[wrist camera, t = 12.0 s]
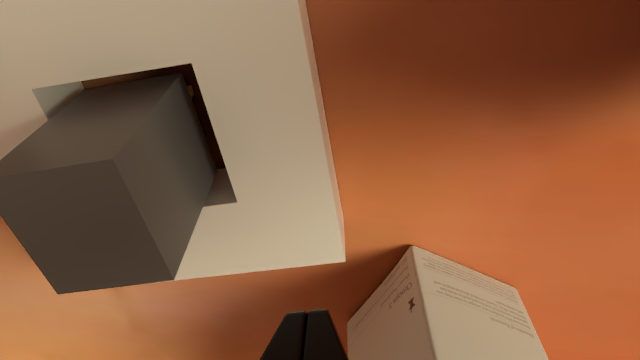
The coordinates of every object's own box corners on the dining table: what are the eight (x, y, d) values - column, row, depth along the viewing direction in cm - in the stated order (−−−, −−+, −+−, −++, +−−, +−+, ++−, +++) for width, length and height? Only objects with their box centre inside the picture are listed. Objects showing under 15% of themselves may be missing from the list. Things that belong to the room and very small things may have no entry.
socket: (288, -98, 15) (277, -93, 12) (343, 220, 23) (346, 274, 20) (-78, -26, 17) (-173, -5, 14) (88, 251, 24) (52, 305, 21)
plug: (191, 59, 18) (112, 158, 12) (224, 153, 21) (173, 280, 14) (101, 76, 19) (-25, 180, 12) (143, 165, 21) (57, 294, 14)
